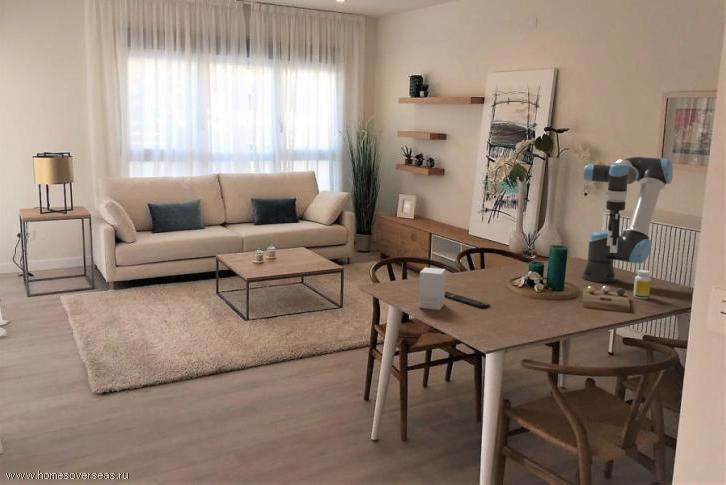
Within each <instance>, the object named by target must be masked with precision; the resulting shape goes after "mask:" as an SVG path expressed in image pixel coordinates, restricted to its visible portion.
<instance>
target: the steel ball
mask: <svg viewBox="0 0 726 485" xmlns="http://www.w3.org/2000/svg"><path fill="white" fill-rule="evenodd" d="M601 290H602V292H603V293H608V292H609V291H611V289H610V287H609V286H608V285H603V286H602V288H601Z"/></svg>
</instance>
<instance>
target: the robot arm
mask: <svg viewBox="0 0 726 485" xmlns="http://www.w3.org/2000/svg"><path fill="white" fill-rule="evenodd" d="M673 171H674V170H673V162H672V161H671V160H670V159H668V158H662V157H661V158H658V157H657V158H656V157H643V156H634V157H627V158H621V159H618V160H617V161H615V162H614V161H613V162H610V163H602V164H601V163H600V164H594V163H592V164H591V163H590V164H589V163H588V164H586V165H585V166H584V168H583V179H584V181H587V182H597V183H607V192H605V195H607V196H606V199H607V200H606V205H605V207H606V208H605V209H606V210H608V211H609V219H608V224H607V230H597V231H593V232H591V233H590V236H589V241H588V251H587V260H586V264H585V266H584V268H583V270H582V273H581V274H582V275H581V278H582V279H584V280H587V281H590V282H594V283H595V282H596V283H613V282H615V281H616V280H617V276H616V270H615V267H614V261H619V262H625V263H630V264H643V263H644V262H646V260H648V257H649V255H650V253H651V248H652V241H651V240H650V236H649V235H648V231H649V228H650V225H651V222H652V218H653V215H654V212H655V208H656V205H657V202H658V198H659V196H660V192H661V191H662V190H664V189H665V188H666V185H669V184H671V183H672V181H673V175H674V174H673V173H674V172H673ZM635 182H638V183H639V185H640V189H639V191H638V192H639V193H638V195H637V198H636V201H635V205H634V208H633V210H632V214H631V217H630V221H629V223H628V226H627V229H625V230H623V231H622V233H621V235H620V219H621V214H620V213H619V212H621V211H625V210H626V200H627V195H628V194H627V193H628V191H627V190H628V185H631V184H633V183H635Z"/></svg>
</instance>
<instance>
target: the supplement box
mask: <svg viewBox="0 0 726 485" xmlns="http://www.w3.org/2000/svg"><path fill="white" fill-rule="evenodd" d="M445 290H446V268H435V267H425V266H424V268H423V269H422V270H420V272H419V289H418V292H419V294H418V308H419V309H426V310H427V309H429V310H438V311H440V310H442V308H443V306H444V305H445V299H446V298H445V292H446V291H445Z"/></svg>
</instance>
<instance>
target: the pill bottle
mask: <svg viewBox="0 0 726 485" xmlns="http://www.w3.org/2000/svg"><path fill="white" fill-rule="evenodd" d="M651 283H652V278H651V277H650V270H644V269H639V270H638V269H637V275H636V276H635V277H634V284H633V292H632V295H633V298H634V297H635V298H637V299H642V300H647V299H649V298H650V293H651V292H650V291H651Z"/></svg>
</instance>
